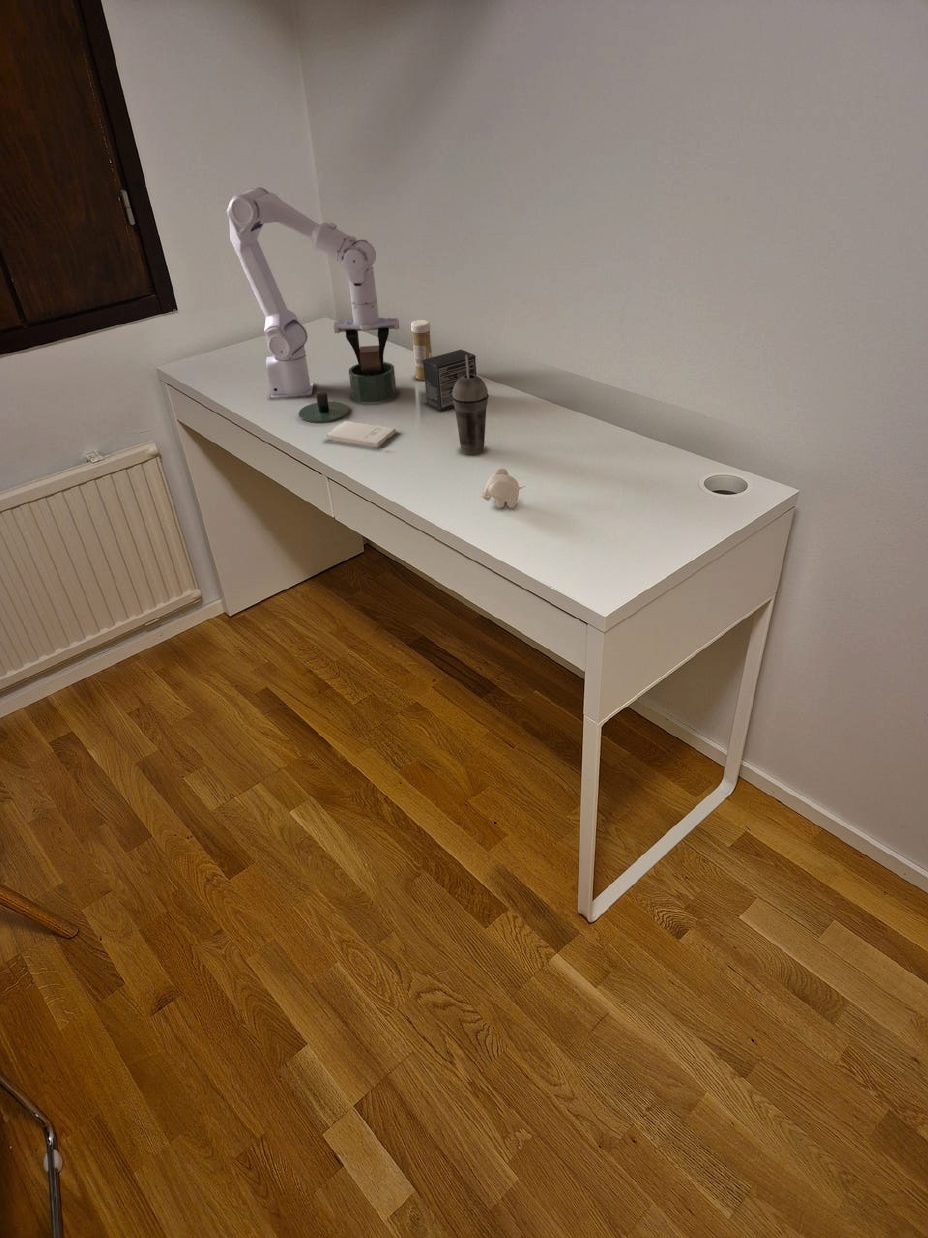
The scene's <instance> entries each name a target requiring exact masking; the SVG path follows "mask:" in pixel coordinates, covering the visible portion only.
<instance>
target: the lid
mask: <svg viewBox="0 0 928 1238" xmlns="http://www.w3.org/2000/svg"><path fill="white" fill-rule="evenodd" d="M315 397H316V402H314V403H311V404H307V405H306V406H304V407H302V408H301V409H300V410H299V412H298V416H299V418H300V420H302V421H304V422H306V423H307V422H308V423H314V424H316V423H317V424H318V423H320V424H322V423H329V422H335V421H338V420H340V419H343V418H345V417H346V416H347V415H348V414H349V412H350V408H349V406H348V405H347V404H345V403H344V402H339V401H329V400H328V394H327V392H326V391H318V392H316V394H315Z"/></svg>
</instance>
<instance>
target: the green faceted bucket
mask: <svg viewBox="0 0 928 1238" xmlns="http://www.w3.org/2000/svg"><path fill="white" fill-rule="evenodd" d="M348 378H349V384H350V391H351V398H352V399H354V400H355V401H358V402H361V403H362V402H363V403H378V402H379V403H380V402H384V401H387V400H390V399H392V398H394V397H395V396H396V395H397V384H396V383H397V382H396V373H395V366H394V365H393V364H392V363H390V362H386V361H383V363H381V370H380V371H365V372H362V370H361V364H358V363H357V364H354V365H352V366H350V368H349V369H348Z"/></svg>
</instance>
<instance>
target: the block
mask: <svg viewBox="0 0 928 1238" xmlns="http://www.w3.org/2000/svg"><path fill="white" fill-rule="evenodd" d="M359 347H360V362H361V370H362V372H365V371H380V370H381V363H380V351H379V344H377V345H364V346H363V345H362V346H359Z"/></svg>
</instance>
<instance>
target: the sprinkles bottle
mask: <svg viewBox="0 0 928 1238" xmlns="http://www.w3.org/2000/svg"><path fill="white" fill-rule="evenodd" d="M410 329H411V333H412V334H411V335H412V348H413V361H414V367H415V368H414V369H415V379H416V380H418V381H425V377H424V366H423V360H424V359H428V358H431V357H433V353H432V351H433V350H432V344H431V322H430V321H429V320H427V319H417V320H413V321H412V322H411V323H410Z"/></svg>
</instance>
